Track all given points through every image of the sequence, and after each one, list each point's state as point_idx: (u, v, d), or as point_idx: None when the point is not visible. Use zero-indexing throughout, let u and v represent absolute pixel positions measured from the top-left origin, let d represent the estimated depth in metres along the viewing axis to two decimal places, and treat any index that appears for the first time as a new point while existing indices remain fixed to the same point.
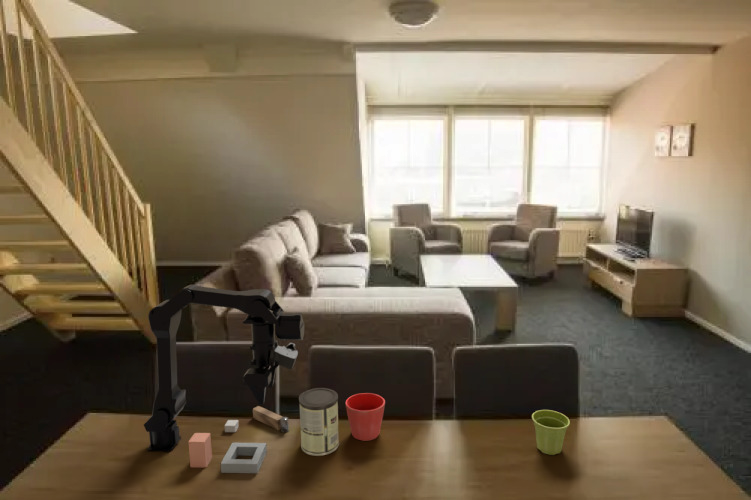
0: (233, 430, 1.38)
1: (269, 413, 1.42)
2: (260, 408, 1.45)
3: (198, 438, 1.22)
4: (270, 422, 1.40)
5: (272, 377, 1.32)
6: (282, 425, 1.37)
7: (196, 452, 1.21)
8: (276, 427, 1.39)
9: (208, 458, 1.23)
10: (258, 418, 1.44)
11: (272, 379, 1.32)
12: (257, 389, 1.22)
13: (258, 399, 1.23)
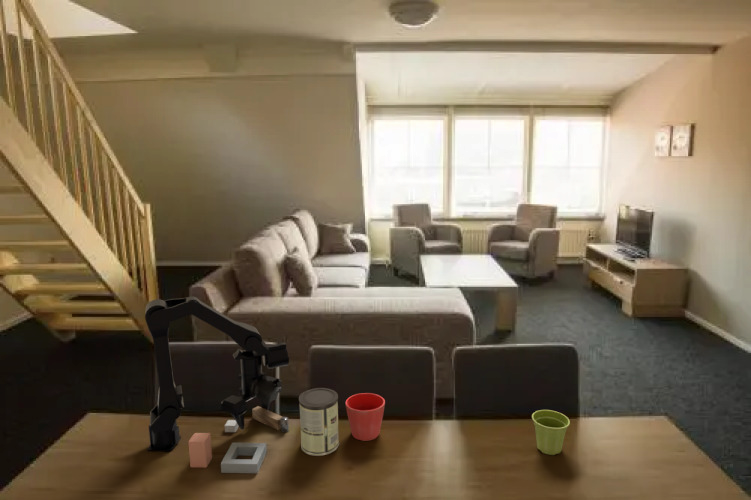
0: (233, 430, 1.38)
1: (269, 414, 1.42)
2: (260, 408, 1.45)
3: (198, 438, 1.22)
4: (270, 422, 1.40)
5: (266, 405, 1.44)
6: (282, 425, 1.37)
7: (196, 452, 1.21)
8: (276, 427, 1.39)
9: (208, 458, 1.23)
10: (258, 418, 1.43)
11: (266, 407, 1.44)
12: (236, 415, 1.36)
13: (238, 424, 1.37)
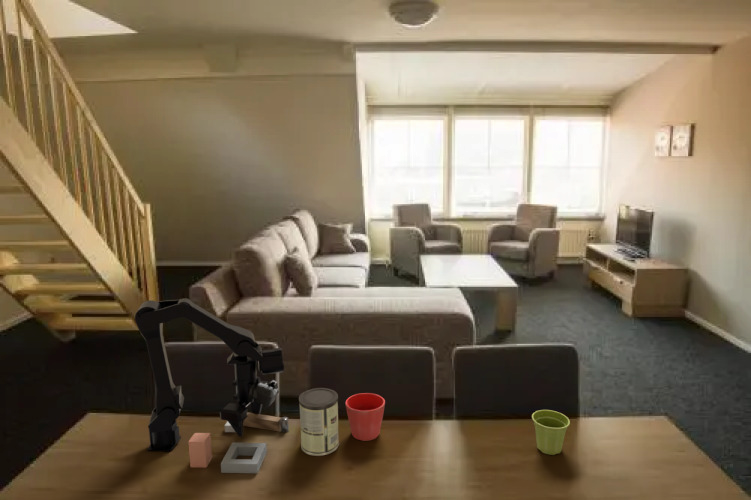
0: (233, 430, 1.38)
1: (265, 417, 1.40)
2: (251, 414, 1.41)
3: (198, 438, 1.22)
4: (267, 425, 1.39)
5: (258, 410, 1.42)
6: (282, 425, 1.37)
7: (196, 452, 1.21)
8: (275, 429, 1.38)
9: (208, 458, 1.23)
10: (251, 424, 1.40)
11: (258, 412, 1.42)
12: (235, 423, 1.32)
13: (237, 432, 1.33)
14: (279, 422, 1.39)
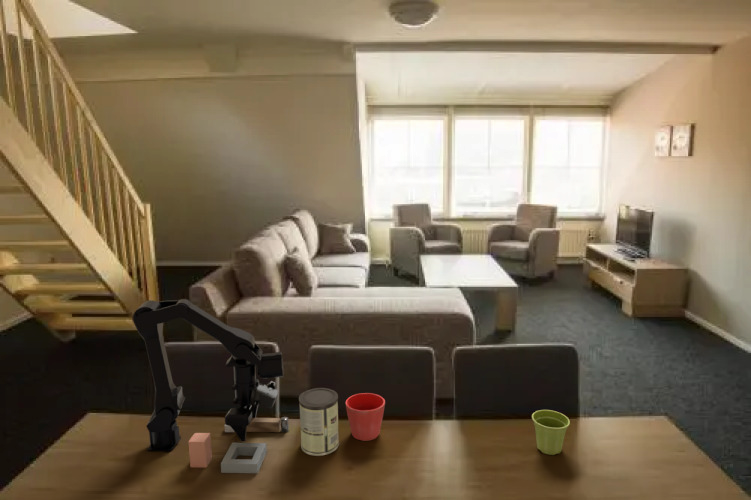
0: (233, 430, 1.38)
1: (263, 420, 1.38)
2: None
3: (198, 438, 1.22)
4: (267, 427, 1.38)
5: (254, 413, 1.40)
6: (282, 425, 1.37)
7: (196, 452, 1.21)
8: (276, 430, 1.38)
9: (208, 458, 1.23)
10: (248, 429, 1.38)
11: (254, 415, 1.40)
12: (239, 427, 1.29)
13: (240, 437, 1.30)
14: (279, 423, 1.38)
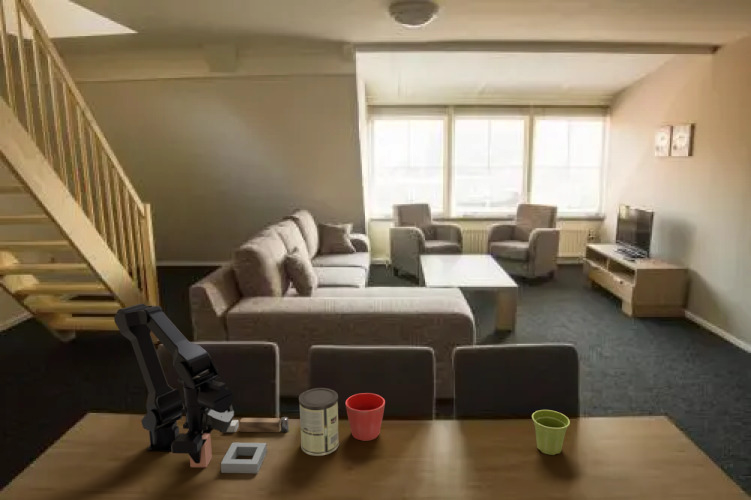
0: (233, 430, 1.38)
1: (263, 420, 1.38)
2: (247, 419, 1.39)
3: None
4: (267, 428, 1.37)
5: None
6: (282, 425, 1.37)
7: None
8: (276, 430, 1.38)
9: (208, 458, 1.23)
10: (248, 429, 1.38)
11: None
12: None
13: (194, 458, 1.21)
14: (279, 423, 1.38)
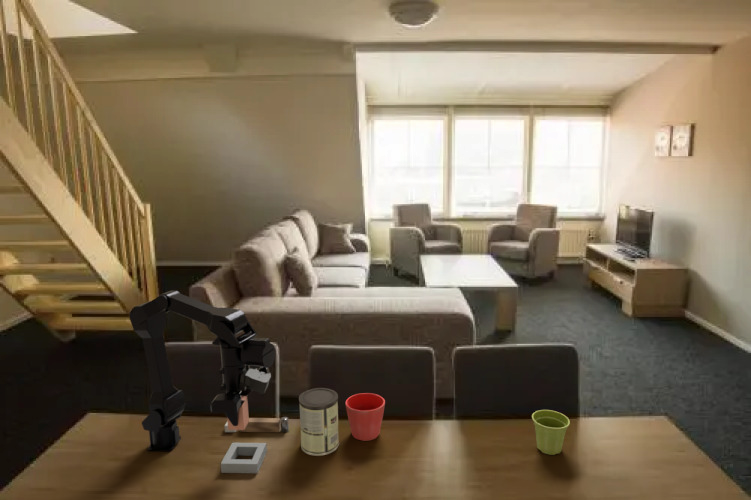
0: (233, 430, 1.38)
1: (263, 420, 1.38)
2: None
3: None
4: (267, 428, 1.37)
5: None
6: (282, 425, 1.37)
7: None
8: (276, 430, 1.38)
9: (245, 421, 1.21)
10: (248, 429, 1.38)
11: None
12: None
13: (231, 421, 1.19)
14: (279, 423, 1.38)
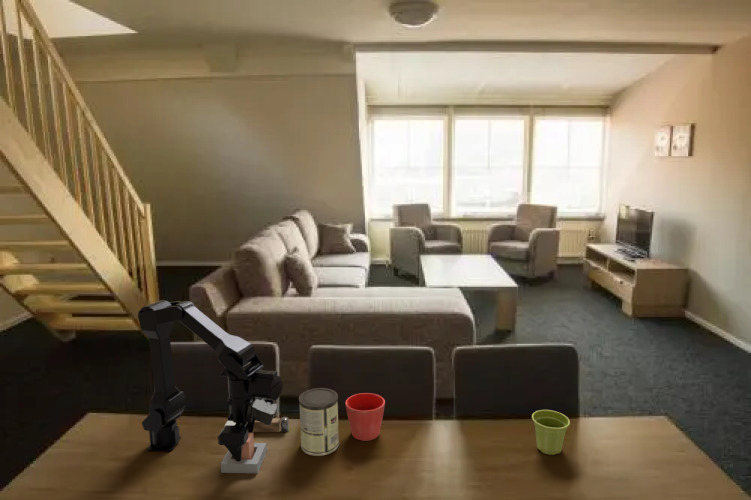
0: None
1: None
2: None
3: None
4: (267, 428, 1.37)
5: (251, 430, 1.27)
6: (282, 425, 1.37)
7: None
8: (276, 430, 1.38)
9: (251, 458, 1.24)
10: None
11: (251, 432, 1.27)
12: (233, 447, 1.17)
13: (235, 456, 1.18)
14: (279, 423, 1.38)
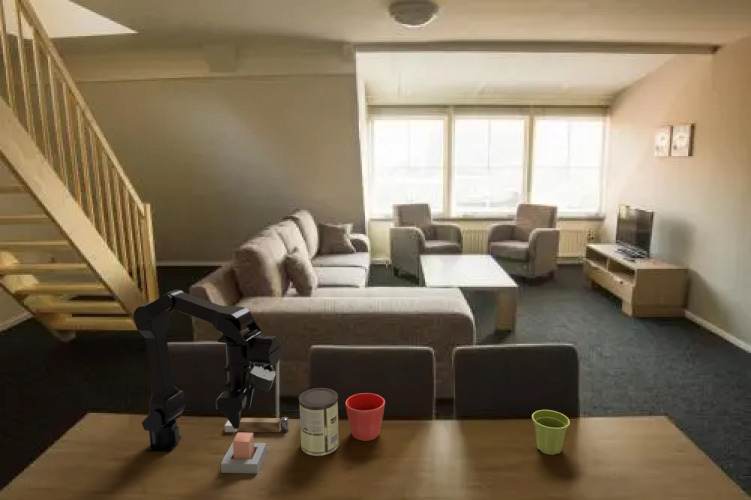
0: (233, 430, 1.38)
1: (263, 420, 1.38)
2: (247, 419, 1.39)
3: (242, 437, 1.22)
4: (267, 428, 1.37)
5: (249, 398, 1.26)
6: (282, 425, 1.37)
7: (240, 452, 1.21)
8: (276, 430, 1.38)
9: (251, 458, 1.24)
10: (248, 429, 1.38)
11: (249, 401, 1.26)
12: (231, 413, 1.15)
13: (233, 423, 1.17)
14: (279, 423, 1.38)
